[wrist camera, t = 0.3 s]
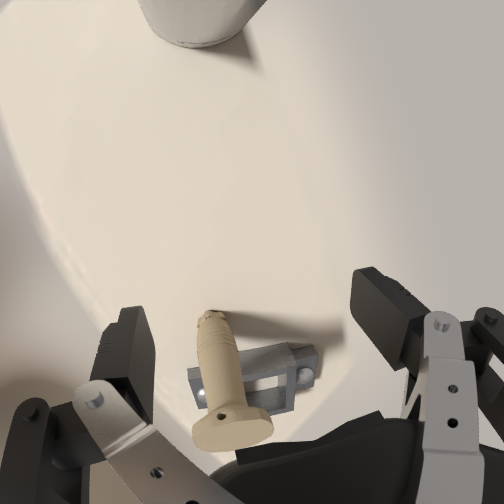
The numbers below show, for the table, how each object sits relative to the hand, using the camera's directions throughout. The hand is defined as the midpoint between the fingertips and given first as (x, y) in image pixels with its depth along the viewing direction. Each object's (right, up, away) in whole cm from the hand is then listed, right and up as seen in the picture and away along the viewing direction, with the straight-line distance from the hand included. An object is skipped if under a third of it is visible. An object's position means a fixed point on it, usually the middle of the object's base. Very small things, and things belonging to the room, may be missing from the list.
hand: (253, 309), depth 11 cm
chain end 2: (+2, -14, +29) cm, 32 cm away
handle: (-5, -5, +23) cm, 24 cm away
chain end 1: (-2, -15, +28) cm, 32 cm away
